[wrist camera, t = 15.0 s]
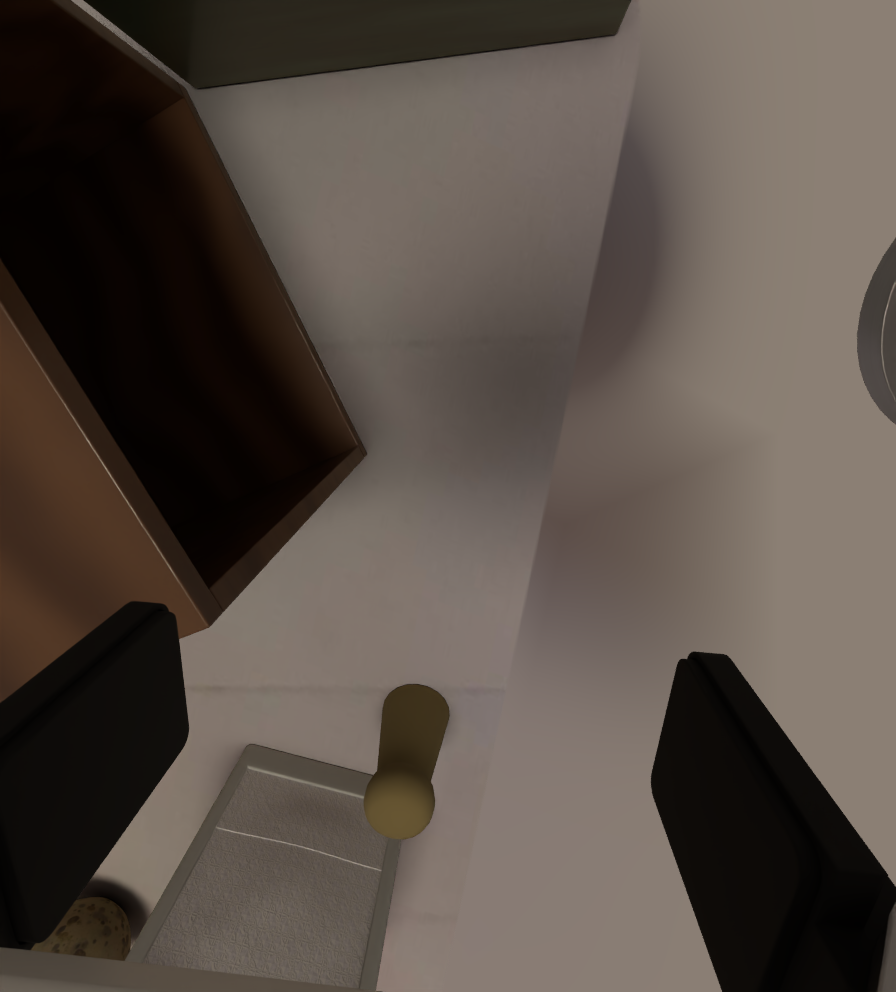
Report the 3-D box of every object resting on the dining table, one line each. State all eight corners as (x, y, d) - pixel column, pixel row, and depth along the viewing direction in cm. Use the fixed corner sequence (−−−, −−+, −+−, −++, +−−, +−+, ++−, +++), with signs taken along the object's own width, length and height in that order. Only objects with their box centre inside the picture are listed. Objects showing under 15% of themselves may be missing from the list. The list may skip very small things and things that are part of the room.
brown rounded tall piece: (440, 679, 46) (426, 783, 36) (456, 734, 48) (447, 849, 38) (374, 689, 47) (342, 794, 37) (392, 743, 49) (366, 858, 38)
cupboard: (184, 87, 34) (-455, -405, 11) (367, 454, 40) (210, 627, 18) (-25, 219, 37) (-844, 57, 14) (175, 537, 44) (-164, 771, 21)
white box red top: (413, 785, 50) (334, 1269, 25) (375, 908, 56) (279, 1404, 30) (244, 741, 50) (-12, 1182, 24) (223, 869, 56) (-2, 1334, 30)
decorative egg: (88, 855, 57) (-47, 1034, 42) (172, 907, 58) (69, 1097, 44) (44, 904, 60) (-95, 1086, 45) (125, 952, 61) (15, 1143, 47)
